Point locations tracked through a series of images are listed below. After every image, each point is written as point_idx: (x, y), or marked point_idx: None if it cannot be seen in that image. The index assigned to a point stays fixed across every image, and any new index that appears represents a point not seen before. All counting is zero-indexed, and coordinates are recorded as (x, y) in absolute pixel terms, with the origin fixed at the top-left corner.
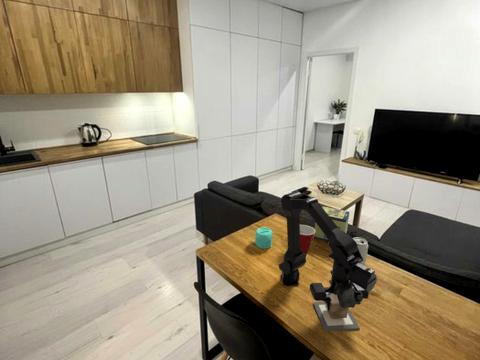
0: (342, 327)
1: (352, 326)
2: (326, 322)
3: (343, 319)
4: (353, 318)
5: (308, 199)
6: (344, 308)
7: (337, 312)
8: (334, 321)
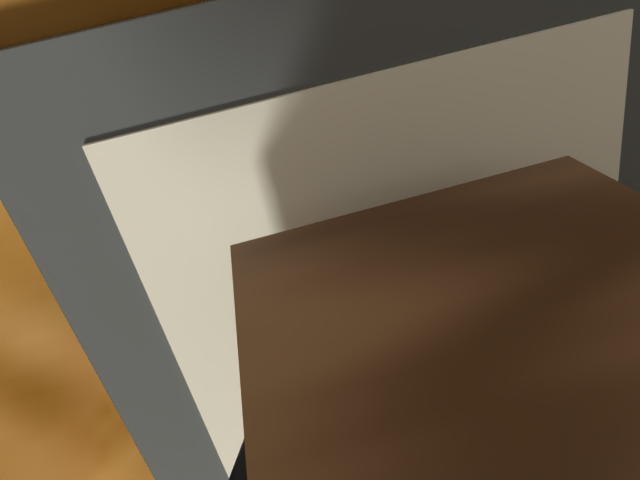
0: (342, 10)
1: (109, 82)
2: (626, 84)
3: (279, 223)
4: (73, 290)
5: None
6: (400, 443)
7: (546, 272)
8: (466, 139)
